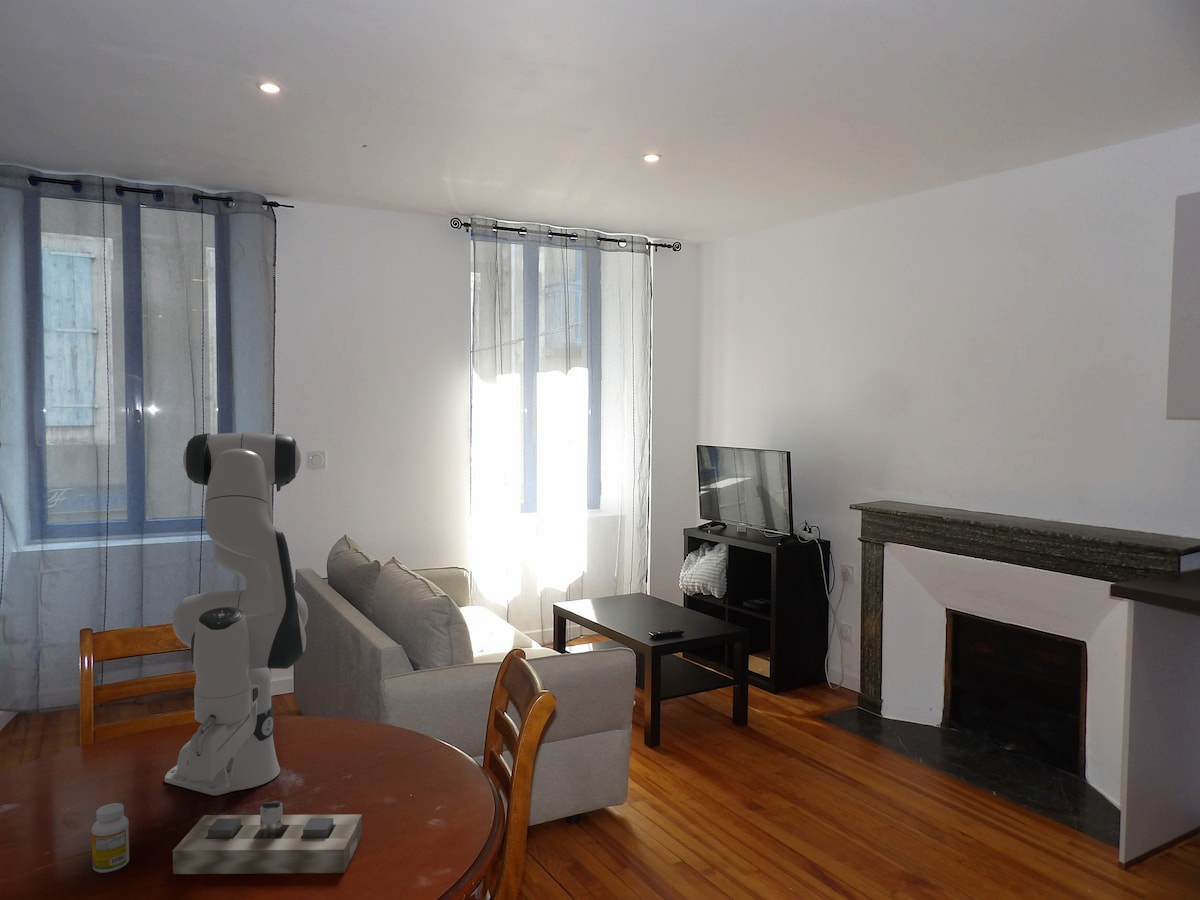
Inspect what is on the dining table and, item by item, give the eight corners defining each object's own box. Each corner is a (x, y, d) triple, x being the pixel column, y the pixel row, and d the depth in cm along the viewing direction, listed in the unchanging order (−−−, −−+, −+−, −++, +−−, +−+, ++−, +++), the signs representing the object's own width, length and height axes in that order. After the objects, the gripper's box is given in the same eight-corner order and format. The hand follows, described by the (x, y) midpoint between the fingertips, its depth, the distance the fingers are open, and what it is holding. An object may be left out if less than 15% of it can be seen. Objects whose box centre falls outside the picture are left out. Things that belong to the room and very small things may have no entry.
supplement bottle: (102, 856, 144) (101, 801, 144) (135, 855, 145) (134, 800, 144) (86, 874, 139) (84, 816, 138) (120, 873, 139) (119, 815, 139)
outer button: (303, 858, 144) (303, 829, 144) (310, 845, 148) (310, 818, 148) (326, 858, 144) (326, 829, 144) (333, 845, 148) (333, 818, 148)
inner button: (208, 858, 143) (207, 830, 143) (217, 846, 147) (217, 818, 147) (231, 858, 144) (231, 830, 143) (241, 846, 148) (240, 818, 147)
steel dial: (257, 839, 144) (256, 807, 143) (264, 829, 147) (264, 798, 147) (278, 839, 144) (278, 807, 144) (285, 829, 147) (285, 797, 147)
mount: (173, 874, 139) (172, 850, 139) (204, 836, 151) (204, 815, 151) (344, 872, 140) (344, 849, 140) (362, 836, 152) (362, 814, 152)
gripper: (216, 731, 134) (217, 813, 135) (263, 683, 154) (264, 755, 156) (175, 730, 134) (178, 813, 135) (228, 682, 154) (229, 755, 156)
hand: (224, 782), depth 146 cm, fingers closed
